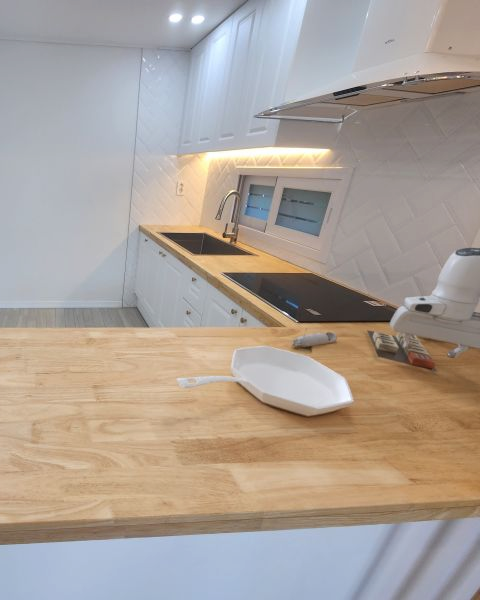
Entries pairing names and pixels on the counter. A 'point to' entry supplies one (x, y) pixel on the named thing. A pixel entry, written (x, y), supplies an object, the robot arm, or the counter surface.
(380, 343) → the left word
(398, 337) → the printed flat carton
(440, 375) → the counter surface
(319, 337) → the torpedo
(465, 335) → the robot arm
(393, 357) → the letter board
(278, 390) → the pan
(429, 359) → the s tile
